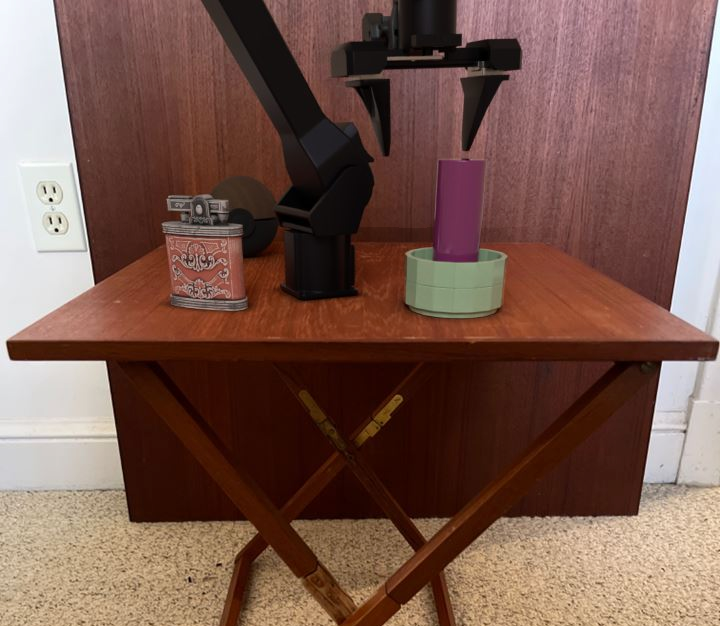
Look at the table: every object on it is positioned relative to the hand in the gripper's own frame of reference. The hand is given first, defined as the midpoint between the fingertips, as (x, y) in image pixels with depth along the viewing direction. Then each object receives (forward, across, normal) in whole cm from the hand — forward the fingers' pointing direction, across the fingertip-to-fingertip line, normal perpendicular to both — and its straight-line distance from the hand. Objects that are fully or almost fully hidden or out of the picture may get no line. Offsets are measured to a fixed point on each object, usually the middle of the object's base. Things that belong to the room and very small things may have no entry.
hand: (426, 153), depth 74 cm
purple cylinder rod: (+12, +3, +14) cm, 19 cm away
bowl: (+13, +3, +14) cm, 19 cm away
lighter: (+12, +25, +5) cm, 29 cm away
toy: (+13, +17, -22) cm, 30 cm away
